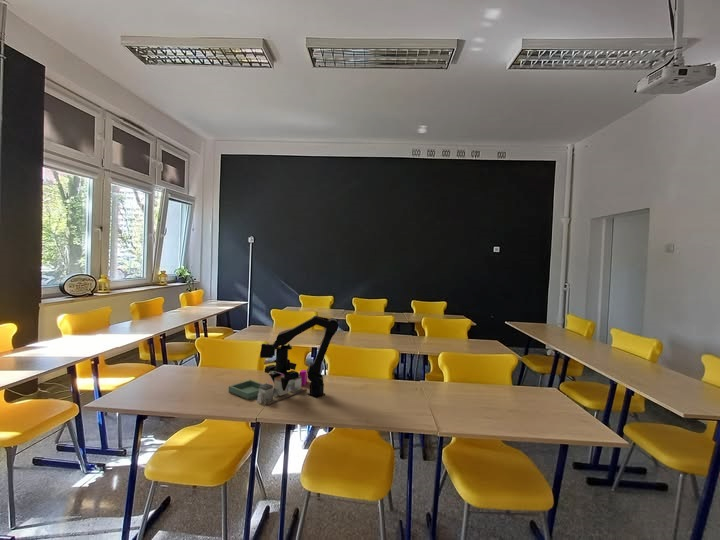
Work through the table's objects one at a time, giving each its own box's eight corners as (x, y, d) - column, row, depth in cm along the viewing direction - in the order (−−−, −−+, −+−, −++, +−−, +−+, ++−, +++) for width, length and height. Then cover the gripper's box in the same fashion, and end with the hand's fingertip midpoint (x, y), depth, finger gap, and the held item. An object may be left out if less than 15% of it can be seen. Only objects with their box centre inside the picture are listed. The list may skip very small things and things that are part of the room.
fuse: (287, 393, 178) (287, 377, 178) (280, 395, 175) (280, 379, 174) (280, 391, 181) (281, 375, 181) (273, 393, 177) (274, 377, 177)
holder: (306, 390, 186) (307, 376, 185) (266, 405, 164) (267, 390, 164) (292, 385, 192) (292, 372, 192) (251, 399, 170) (252, 385, 170)
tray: (269, 392, 180) (269, 386, 180) (247, 400, 170) (248, 393, 170) (250, 385, 189) (250, 379, 189) (228, 392, 178) (228, 386, 178)
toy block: (307, 382, 198) (307, 368, 198) (304, 386, 192) (304, 372, 192) (280, 380, 199) (280, 367, 199) (276, 384, 193) (277, 370, 193)
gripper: (307, 358, 179) (305, 389, 179) (281, 351, 189) (280, 380, 190) (290, 363, 169) (289, 395, 170) (264, 355, 180) (263, 386, 181)
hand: (280, 389), depth 178 cm, fingers closed on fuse, 4 cm apart
